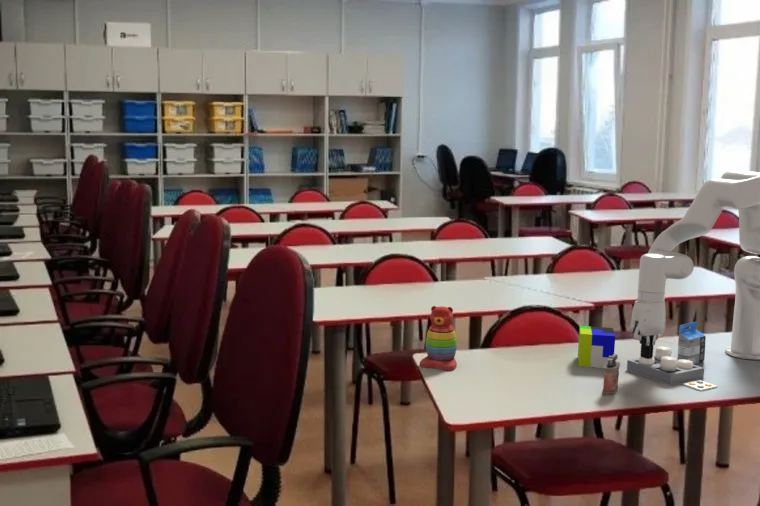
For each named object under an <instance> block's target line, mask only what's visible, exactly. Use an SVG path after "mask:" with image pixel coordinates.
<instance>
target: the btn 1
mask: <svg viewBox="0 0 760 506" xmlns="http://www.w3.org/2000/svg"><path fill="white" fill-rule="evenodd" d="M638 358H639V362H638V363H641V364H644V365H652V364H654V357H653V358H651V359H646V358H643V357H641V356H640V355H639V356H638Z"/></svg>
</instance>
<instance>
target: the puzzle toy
mask: <svg viewBox="0 0 760 506" xmlns="http://www.w3.org/2000/svg"><path fill="white" fill-rule="evenodd" d="M615 344H616V334H615V331H614V328H613V327H603V326H589V325H579V331H578V349H577V362H578V366H579V367H587V366H589V367H590V368H600V367H604V365H605V364H607V360H608V358H609V356H612V355H613V354H615V347H616V346H615Z"/></svg>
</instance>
